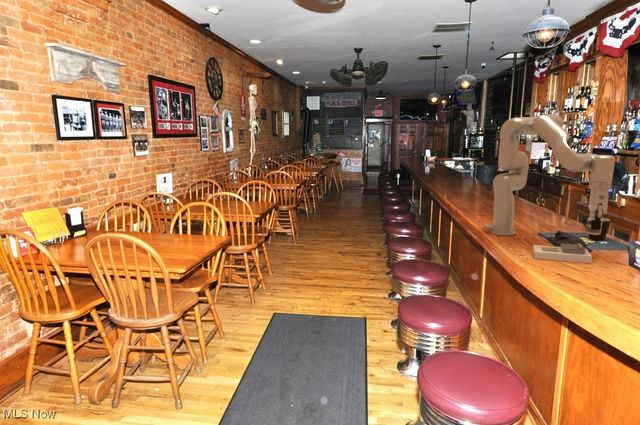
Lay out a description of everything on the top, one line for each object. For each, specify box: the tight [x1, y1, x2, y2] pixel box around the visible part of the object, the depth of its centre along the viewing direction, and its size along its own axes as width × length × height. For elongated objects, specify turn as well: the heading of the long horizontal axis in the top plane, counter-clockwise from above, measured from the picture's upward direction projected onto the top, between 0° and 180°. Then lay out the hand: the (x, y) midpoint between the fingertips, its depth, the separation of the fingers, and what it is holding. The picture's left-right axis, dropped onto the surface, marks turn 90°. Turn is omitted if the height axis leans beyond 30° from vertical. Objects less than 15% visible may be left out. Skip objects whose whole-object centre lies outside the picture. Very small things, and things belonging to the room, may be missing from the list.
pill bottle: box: [585, 212, 603, 235], centre depth 165 cm, size 5×5×9 cm
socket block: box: [532, 244, 593, 264], centre depth 165 cm, size 20×11×3 cm, turn 66°
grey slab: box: [561, 243, 585, 254], centre depth 163 cm, size 8×8×3 cm
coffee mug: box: [582, 217, 611, 242], centre depth 190 cm, size 12×9×10 cm
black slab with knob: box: [546, 230, 593, 253], centre depth 182 cm, size 15×22×5 cm
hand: (593, 227), depth 166 cm, fingers closed on pill bottle, 5 cm apart
